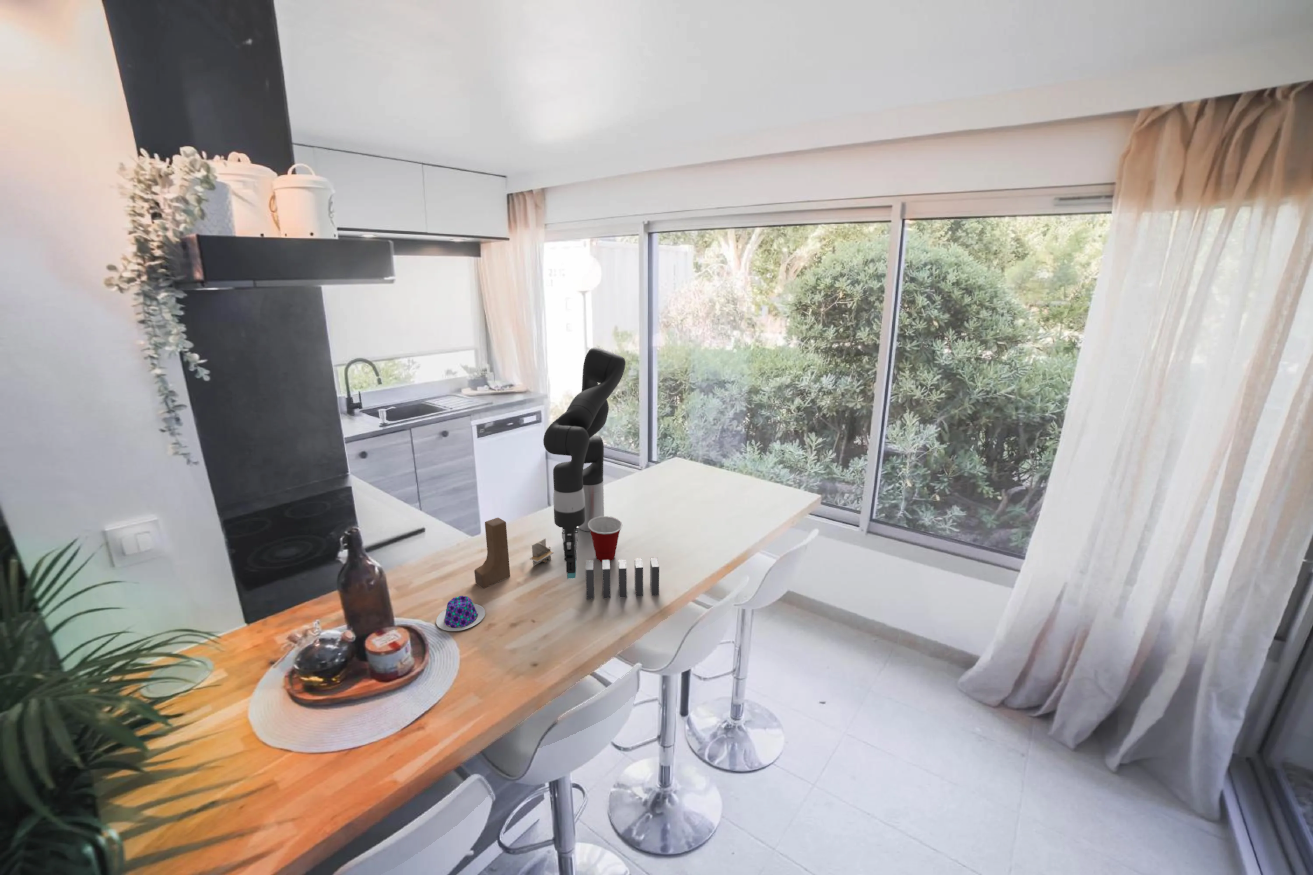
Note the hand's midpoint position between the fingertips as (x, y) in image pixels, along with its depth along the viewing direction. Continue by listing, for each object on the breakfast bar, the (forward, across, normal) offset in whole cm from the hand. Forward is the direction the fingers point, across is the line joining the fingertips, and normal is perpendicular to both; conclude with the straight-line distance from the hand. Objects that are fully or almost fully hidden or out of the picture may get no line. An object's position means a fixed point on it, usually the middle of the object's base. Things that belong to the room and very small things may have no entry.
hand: (571, 566), depth 135 cm
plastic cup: (+15, +30, -9) cm, 35 cm away
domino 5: (+15, +10, -18) cm, 25 cm away
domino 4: (+15, +10, -13) cm, 22 cm away
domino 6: (+15, +10, -22) cm, 29 cm away
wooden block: (+15, +20, +24) cm, 34 cm away
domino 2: (+15, +10, -4) cm, 18 cm away
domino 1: (+2, 0, 0) cm, 2 cm away
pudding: (+15, +2, +29) cm, 33 cm away
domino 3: (+15, +10, -9) cm, 20 cm away
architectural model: (+16, +29, +11) cm, 34 cm away
